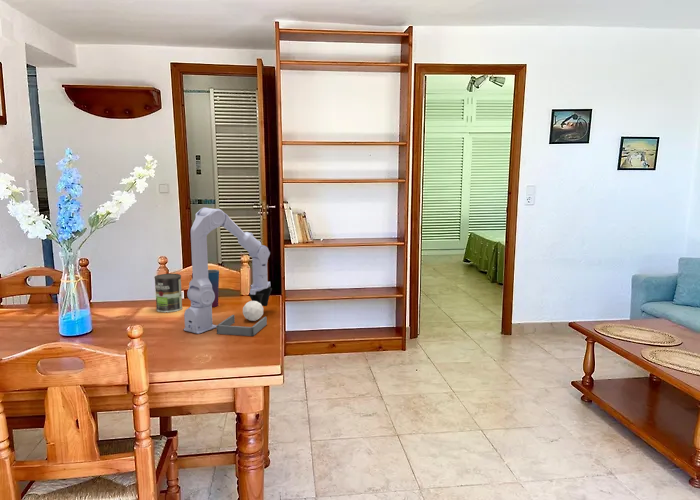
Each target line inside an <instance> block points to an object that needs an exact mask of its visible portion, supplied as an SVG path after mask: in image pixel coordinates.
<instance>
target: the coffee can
mask: <svg viewBox="0 0 700 500" xmlns="http://www.w3.org/2000/svg"><path fill="white" fill-rule="evenodd" d="M154 284H155V285H154V287H155V289H154V290H155V301H156V302H155V305H156V310H155V311H156V312H157V313H164V314H165V313H166V312H167V313H175V312H179V311H181V310H183V297H182V296H183V294H182V275H181V274H180V273H179V274H178V273H163V274H161V273H160V274H157V275H155V276H154Z"/></svg>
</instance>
